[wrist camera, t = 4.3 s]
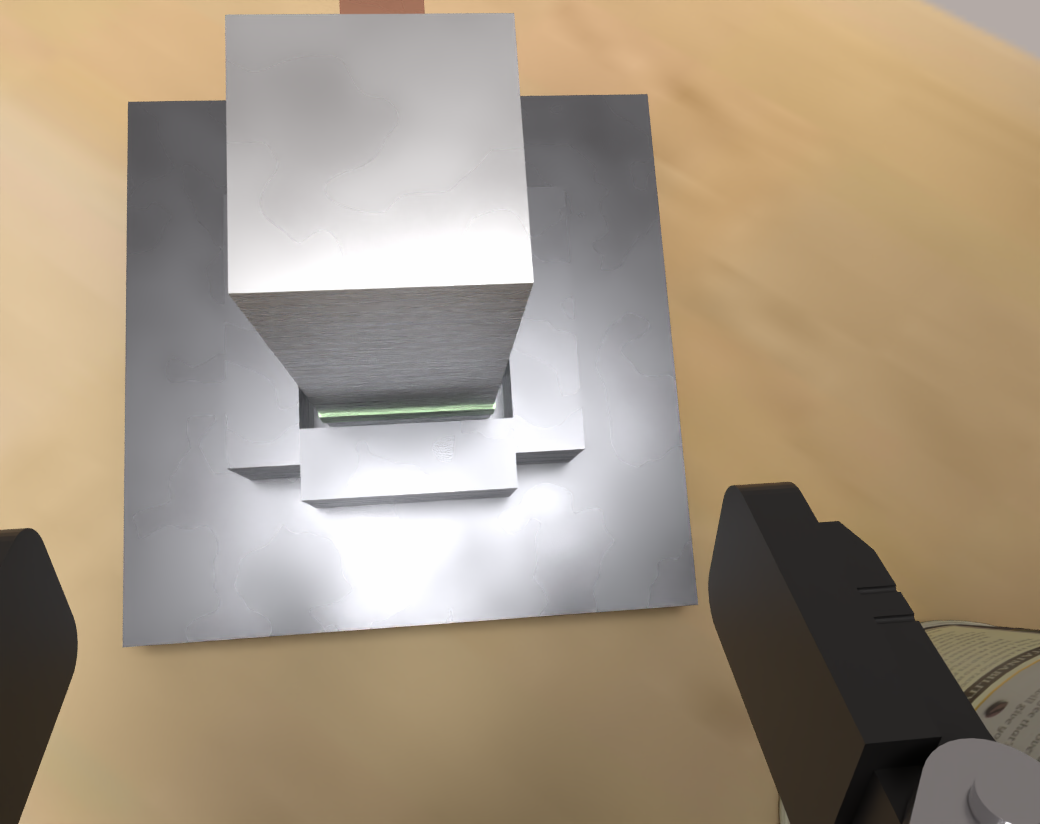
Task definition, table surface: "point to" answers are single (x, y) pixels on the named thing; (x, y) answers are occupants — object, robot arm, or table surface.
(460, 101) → the steel column
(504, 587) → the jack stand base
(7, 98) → the table surface
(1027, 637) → the coffee can
